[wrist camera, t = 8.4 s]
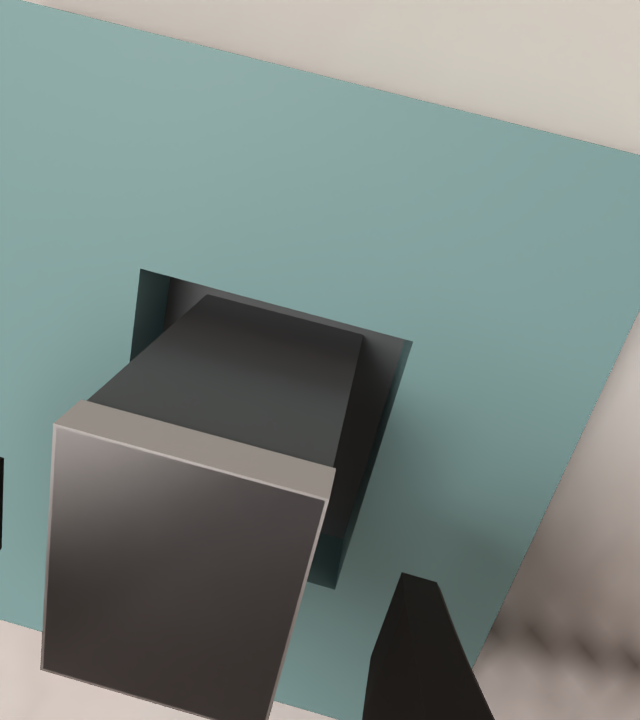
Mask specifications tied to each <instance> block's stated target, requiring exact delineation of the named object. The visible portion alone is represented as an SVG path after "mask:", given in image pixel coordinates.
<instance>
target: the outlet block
mask: <svg viewBox="0 0 640 720" xmlns="http://www.w3.org/2000/svg"><path fill="white" fill-rule="evenodd" d="M207 294H209V295H213V296H217V297H221V298H224V299H228V300H232V301H236V302H240V303H244V304H247V305H251V306H255V307H259V308H263V309H267V310H270V311H274V312H278V313H282V314H286V315H290V316H294V317H297V318H301V319H305V320H309V321H313V322H317V323H320V324H324V325H328V326H332V327H336V328H340V329H343V330H347V331H351V332H355V333H359V334H363V338H362V342H361V347H360V351H359V355H358V360H357V364H356V368H355V373H354V377H353V382H352V386H351V390H350V395H349V399H348V404H347V408H346V412H345V417H344V421H343V425H342V430H341V434H340V439H339V443H338V447H337V452H336V456H335V460H334V465H333V468H336V472H335V476H334V481H333V485H332V490H331V494H330V499H329V503H328V506H327V510H326V513H325V517H324V521H323V524H322V528H321V531H320V535H319V539H318V542H317V546H316V549H315V553H314V557H313V560H312V564H311V568H310V571H309V575H308V578H307V582H306V586H305V589H304V593H303V596H302V600H301V604H300V607H299V611H298V614H297V618H296V622H295V625H294V629H293V632H292V636H291V640H290V643H289V647H288V650H287V654H286V658H285V661H284V665H283V669H282V672H281V676H280V679H279V683H278V687H277V690H276V694H275V697H274V701H277V702H280V703H284V704H287V705H291V706H294V707H297V708H301V709H304V710H307V711H311V712H314V713H318V714H321V715H324V716H328V717H331V718H335V719H338V720H362V716H363V708H364V701H365V693H366V686H367V679H368V672H369V665H370V658H371V654H372V652H373V649H374V646H375V643H376V641H377V638H378V635H379V633H380V630H381V627H382V624H383V622H384V619H385V616H386V613H387V611H388V608H389V605H390V602H391V600H392V597H393V594H394V592H395V589H396V586H397V583H398V581H399V578H400V575H401V572H403V573H407V574H410V575H414V576H417V577H421V578H424V579H428V580H431V581H435V582H437V584H438V585H439V587H440V589H441V592H442V595H443V597H444V600H445V603H446V606H447V608H448V611H449V614H450V616H451V619H452V622H453V624H454V627H455V630H456V632H457V635H458V637H459V640H460V642H461V645H462V647H463V650H464V652H465V654H466V657H467V659H468V662H469V664H470V666H471V669H472V668H473V666H474V664H475V662H476V660H477V657H478V655H479V653H480V651H481V649H482V647H483V645H484V642H485V640H486V638H487V636H488V634H489V632H490V630H491V627H492V625H493V623H494V621H495V619H496V617H497V615H498V612H499V610H500V608H501V606H502V604H503V602H504V599H505V597H506V595H507V593H508V591H509V589H510V587H511V584H512V582H513V580H514V578H515V576H516V574H517V572H518V569H519V567H520V565H521V563H522V561H523V559H524V557H525V554H526V552H527V550H528V548H529V546H530V544H531V542H532V539H533V537H534V535H535V533H536V531H537V529H538V527H539V524H540V522H541V520H542V518H543V516H544V514H545V511H546V509H547V507H548V505H549V503H550V501H551V499H552V496H553V494H554V492H555V490H556V488H557V486H558V484H559V481H560V479H561V477H562V475H563V473H564V471H565V469H566V466H567V464H568V462H569V460H570V458H571V456H572V454H573V451H574V449H575V447H576V445H577V443H578V441H579V439H580V436H581V434H582V432H583V430H584V428H585V426H586V423H587V421H588V419H589V417H590V415H591V413H592V411H593V408H594V406H595V404H596V402H597V400H598V398H599V396H600V393H601V391H602V389H603V387H604V385H605V383H606V381H607V378H608V376H609V374H610V372H611V370H612V368H613V366H614V363H615V361H616V359H617V357H618V355H619V353H620V351H621V348H622V346H623V344H624V342H625V340H626V338H627V335H628V333H629V331H630V329H631V327H632V325H633V323H634V320H635V318H636V316H637V314H638V312H639V310H640V155H637V154H633V153H629V152H625V151H621V150H617V149H613V148H609V147H605V146H601V145H597V144H593V143H589V142H585V141H581V140H577V139H573V138H569V137H565V136H561V135H557V134H553V133H549V132H545V131H541V130H537V129H533V128H529V127H525V126H521V125H517V124H513V123H509V122H505V121H501V120H497V119H493V118H489V117H485V116H481V115H477V114H473V113H469V112H465V111H461V110H457V109H453V108H449V107H445V106H441V105H437V104H433V103H429V102H425V101H421V100H417V99H413V98H409V97H405V96H401V95H397V94H393V93H389V92H385V91H381V90H377V89H373V88H369V87H365V86H361V85H357V84H353V83H349V82H345V81H341V80H337V79H333V78H329V77H325V76H321V75H318V74H314V73H310V72H306V71H302V70H298V69H294V68H290V67H286V66H282V65H278V64H274V63H270V62H266V61H262V60H258V59H254V58H250V57H246V56H242V55H238V54H234V53H230V52H226V51H222V50H218V49H214V48H210V47H206V46H202V45H198V44H194V43H190V42H186V41H182V40H178V39H174V38H170V37H166V36H162V35H158V34H154V33H150V32H146V31H142V30H138V29H134V28H130V27H126V26H122V25H118V24H114V23H110V22H106V21H102V20H98V19H94V18H90V17H86V16H82V15H78V14H74V13H70V12H66V11H62V10H58V9H54V8H50V7H46V6H42V5H38V4H34V3H30V2H26V1H22V0H0V457H3V458H4V482H3V519H2V549H1V550H0V620H4V621H7V622H10V623H14V624H17V625H20V626H24V627H27V628H31V629H34V630H37V631H41V632H42V629H43V610H44V590H45V571H46V552H47V533H48V514H49V495H50V476H51V456H52V437H53V423H54V422H55V421H57V420H58V419H59V418H60V417H61V416H62V415H64V414H65V413H66V412H67V411H68V410H69V409H70V408H72V407H73V406H74V405H75V404H76V403H77V402H79V401H80V400H81V399H82V400H85V401H87V400H88V399H89V398H90V397H91V396H92V395H93V394H95V393H96V392H97V391H98V390H99V389H100V388H101V387H102V386H104V385H105V384H106V383H107V382H108V381H109V380H110V379H112V378H113V377H114V376H115V375H116V374H117V373H118V372H119V371H121V370H122V369H123V368H124V367H125V366H126V365H127V364H129V363H130V362H131V361H132V360H133V359H134V358H135V357H136V356H138V355H139V354H140V353H141V352H142V351H143V350H144V349H145V348H147V347H148V346H149V345H150V344H151V343H152V342H153V341H155V340H156V339H157V338H158V337H159V336H160V335H161V334H162V333H164V332H165V331H166V330H167V329H168V328H169V327H170V326H172V325H173V324H174V323H175V322H176V321H177V320H178V319H179V318H181V317H182V316H183V315H184V314H185V313H186V312H187V311H188V310H190V309H191V308H192V307H193V306H194V305H195V304H196V303H198V302H199V301H200V300H201V299H202V298H203V297H204V296H205V295H207Z"/></svg>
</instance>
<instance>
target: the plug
mask: <svg viewBox="0 0 640 720" xmlns="http://www.w3.org/2000/svg"><path fill="white" fill-rule="evenodd" d="M362 338H363V334H359V333H355V332H351V331H347V330H343V329H340V328H336V327H332V326H328V325H324V324H320V323H317V322H313V321H309V320H305V319H301V318H297V317H294V316H290V315H286V314H282V313H278V312H274V311H270V310H267V309H263V308H259V307H255V306H251V305H247V304H244V303H240V302H236V301H232V300H228V299H224V298H221V297H217V296H213V295H209V294H207V295H205V296H204V297H203V298H202V299H201V300H200V301H199V302H198V303H196V304H195V305H194V306H193V307H192V308H191V309H190V310H188V311H187V312H186V313H185V314H184V315H183V316H182V317H181V318H179V319H178V320H177V321H176V322H175V323H174V324H173V325H172V326H170V327H169V328H168V329H167V330H166V331H165V332H164V333H162V334H161V335H160V336H159V337H158V338H157V339H156V340H155V341H153V342H152V343H151V344H150V345H149V346H148V347H147V348H145V349H144V350H143V351H142V352H141V353H140V354H139V355H138V356H136V357H135V358H134V359H133V360H132V361H131V362H130V363H129V364H127V365H126V366H125V367H124V368H123V369H122V370H121V371H119V372H118V373H117V374H116V375H115V376H114V377H113V378H112V379H110V380H109V381H108V382H107V383H106V384H105V385H104V386H102V387H101V388H100V389H99V390H98V391H97V392H96V393H95V394H93V395H92V396H91V397H90V398H89V399H88V400H87V401H85V400H82V399H81V400H80V401H79V402H77V403H76V404H75V405H74V406H73V407H72V408H70V409H69V410H68V411H67V412H66V413H65V414H64V415H62V416H61V417H60V418H59V419H58V420H57V421H55V422H54V423H53V437H52V456H51V476H50V495H49V514H48V533H47V552H46V571H45V590H44V610H43V629H42V648H41V667H40V670H43V671H47V672H50V673H53V674H57V675H60V676H64V677H67V678H70V679H74V680H77V681H81V682H84V683H87V684H91V685H94V686H98V687H101V688H104V689H108V690H111V691H115V692H118V693H122V694H125V695H128V696H132V697H135V698H139V699H142V700H145V701H149V702H152V703H156V704H159V705H162V706H166V707H169V708H173V709H176V710H180V711H183V712H186V713H190V714H193V715H197V716H200V717H203V718H207V719H210V720H268V719H269V715H270V712H271V708H272V705H273V701H274V697H275V694H276V690H277V687H278V683H279V679H280V676H281V672H282V669H283V665H284V661H285V658H286V654H287V650H288V647H289V643H290V640H291V636H292V632H293V629H294V625H295V622H296V618H297V614H298V611H299V607H300V604H301V600H302V596H303V593H304V589H305V586H306V582H307V578H308V575H309V571H310V568H311V564H312V560H313V557H314V553H315V549H316V546H317V542H318V539H319V535H320V531H321V528H322V524H323V521H324V517H325V513H326V510H327V506H328V503H329V499H330V494H331V490H332V485H333V481H334V476H335V472H336V468H333V465H334V460H335V456H336V452H337V447H338V443H339V439H340V434H341V430H342V425H343V421H344V417H345V412H346V408H347V404H348V399H349V395H350V390H351V386H352V382H353V377H354V373H355V368H356V364H357V360H358V355H359V351H360V347H361V342H362Z"/></svg>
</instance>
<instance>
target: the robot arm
mask: <svg viewBox="0 0 640 720" xmlns="http://www.w3.org/2000/svg"><path fill="white" fill-rule="evenodd" d="M3 482H4V458H3V457H0V550H1V549H2V519H3ZM362 720H495V719H494V717H493V715H492V713H491V711H490V709H489V707H488V704H487V702H486V700H485V698H484V695H483V693H482V691H481V689H480V687H479V684H478V682H477V680H476V678H475V675H474V673H473V671H472V669H471V666H470V664H469V662H468V659H467V657H466V654H465V652H464V650H463V647H462V645H461V642H460V640H459V637H458V635H457V632H456V630H455V627H454V624H453V622H452V619H451V616H450V614H449V611H448V608H447V606H446V603H445V600H444V597H443V595H442V592H441V589H440V587H439V585H438V584H437V582H435V581H431V580H428V579H424V578H421V577H417V576H414V575H410V574H407V573H403V572H401V575H400V578H399V581H398V583H397V586H396V589H395V592H394V594H393V597H392V600H391V602H390V605H389V608H388V611H387V613H386V616H385V619H384V622H383V624H382V627H381V630H380V633H379V635H378V638H377V641H376V643H375V646H374V649H373V652H372V654H371V658H370V665H369V672H368V679H367V686H366V693H365V701H364V708H363V716H362Z"/></svg>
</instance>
